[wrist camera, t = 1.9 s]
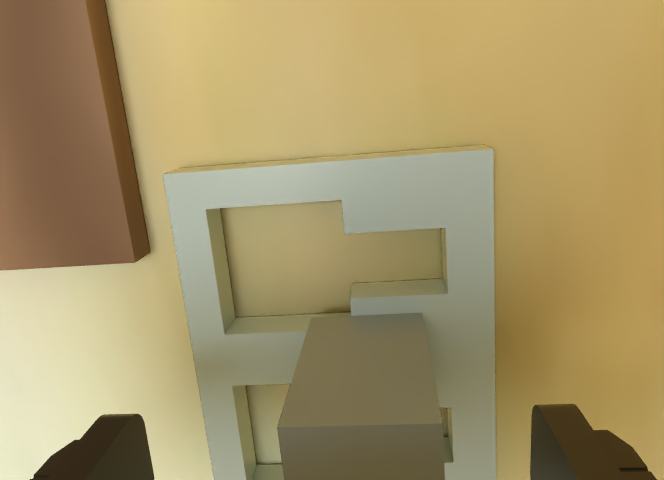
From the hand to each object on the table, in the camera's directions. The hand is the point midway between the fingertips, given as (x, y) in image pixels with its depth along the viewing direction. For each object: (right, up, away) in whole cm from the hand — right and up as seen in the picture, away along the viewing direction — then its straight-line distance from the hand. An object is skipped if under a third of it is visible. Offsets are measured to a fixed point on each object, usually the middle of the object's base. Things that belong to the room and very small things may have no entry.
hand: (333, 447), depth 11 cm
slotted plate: (0, +1, +5) cm, 5 cm away
